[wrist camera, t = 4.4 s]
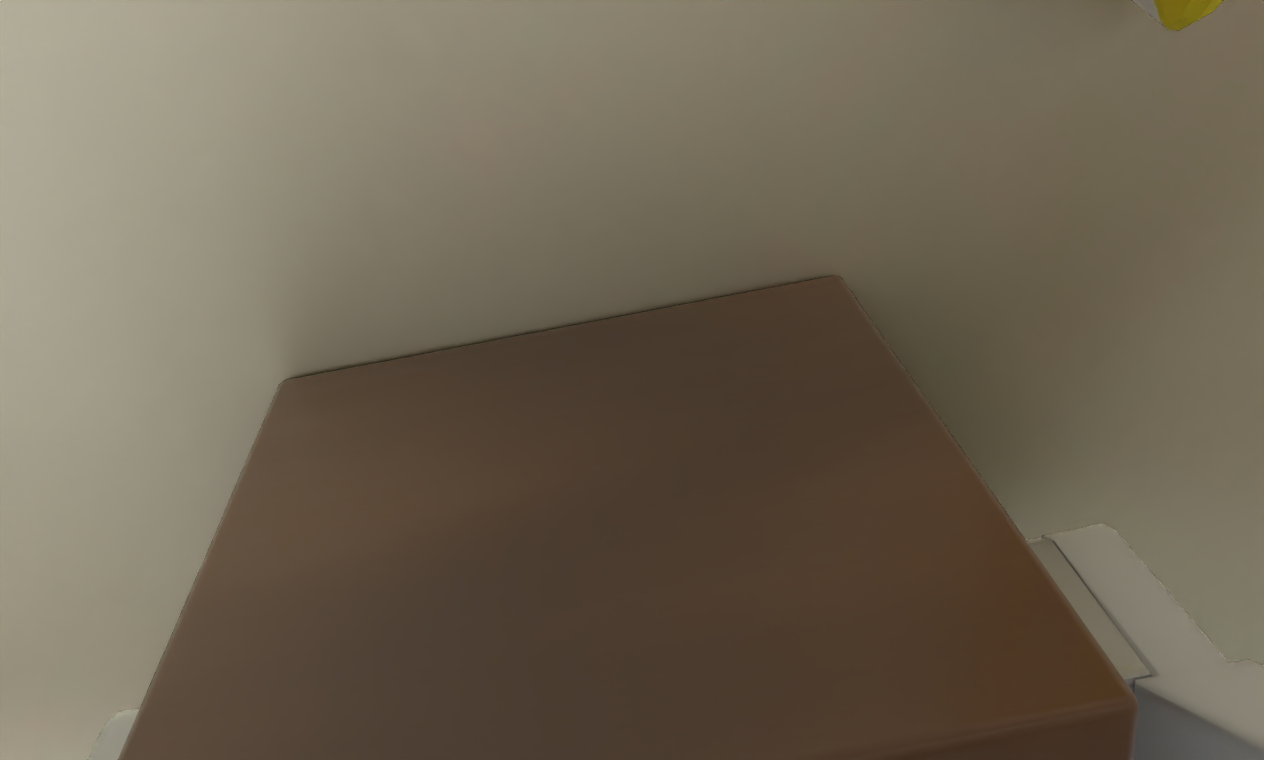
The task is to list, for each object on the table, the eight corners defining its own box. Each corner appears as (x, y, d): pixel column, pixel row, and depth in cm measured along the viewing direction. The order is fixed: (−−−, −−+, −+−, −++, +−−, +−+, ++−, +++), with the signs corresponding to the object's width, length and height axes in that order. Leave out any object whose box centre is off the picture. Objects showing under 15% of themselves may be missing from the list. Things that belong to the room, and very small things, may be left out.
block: (840, 269, 9) (1148, 700, 5) (868, 680, 11) (1086, 1217, 7) (277, 378, 9) (42, 915, 5) (426, 765, 11) (367, 1358, 7)
